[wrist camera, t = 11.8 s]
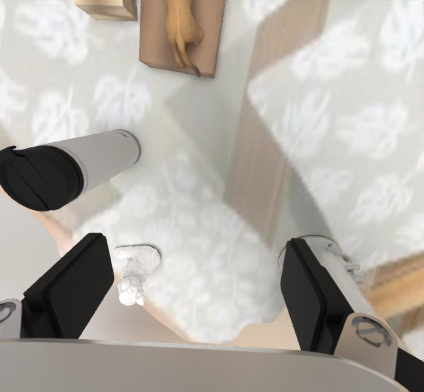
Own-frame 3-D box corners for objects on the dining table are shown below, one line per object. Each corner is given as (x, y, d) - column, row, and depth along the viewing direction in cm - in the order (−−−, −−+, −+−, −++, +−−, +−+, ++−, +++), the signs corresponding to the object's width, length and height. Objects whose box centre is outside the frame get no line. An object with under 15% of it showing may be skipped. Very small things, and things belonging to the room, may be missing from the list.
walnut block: (234, -61, 27) (237, -96, 23) (214, 78, 33) (213, 73, 29) (157, -77, 27) (144, -115, 23) (150, 67, 33) (139, 60, 29)
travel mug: (127, 121, 36) (27, 134, 17) (147, 157, 38) (76, 203, 19) (97, 136, 37) (-28, 164, 18) (118, 170, 39) (25, 225, 21)
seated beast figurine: (114, 247, 46) (79, 291, 35) (146, 230, 44) (120, 271, 33) (141, 278, 48) (117, 328, 37) (172, 263, 47) (156, 311, 35)
